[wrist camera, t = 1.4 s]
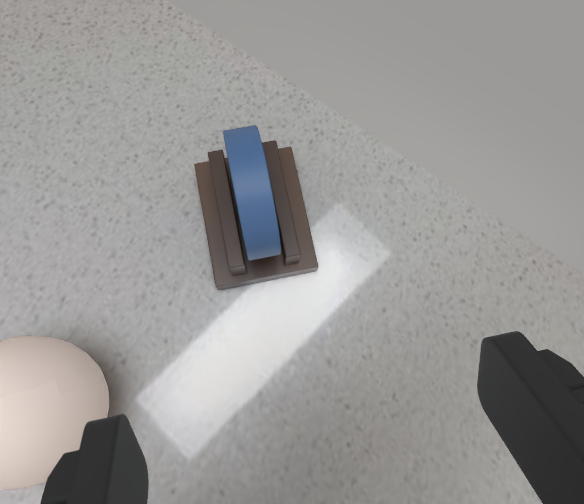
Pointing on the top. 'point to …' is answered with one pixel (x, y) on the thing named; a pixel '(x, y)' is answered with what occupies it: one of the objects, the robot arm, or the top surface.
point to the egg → (44, 405)
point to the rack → (227, 228)
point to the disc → (253, 192)
